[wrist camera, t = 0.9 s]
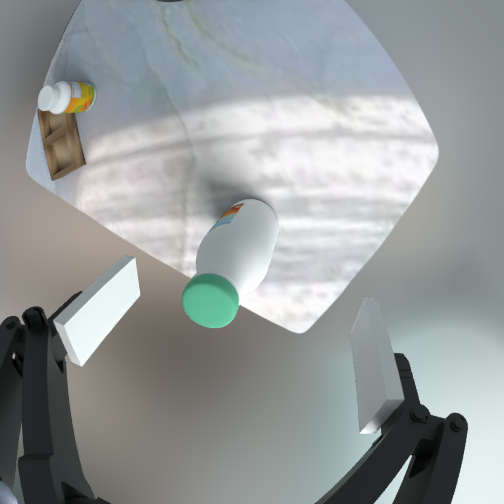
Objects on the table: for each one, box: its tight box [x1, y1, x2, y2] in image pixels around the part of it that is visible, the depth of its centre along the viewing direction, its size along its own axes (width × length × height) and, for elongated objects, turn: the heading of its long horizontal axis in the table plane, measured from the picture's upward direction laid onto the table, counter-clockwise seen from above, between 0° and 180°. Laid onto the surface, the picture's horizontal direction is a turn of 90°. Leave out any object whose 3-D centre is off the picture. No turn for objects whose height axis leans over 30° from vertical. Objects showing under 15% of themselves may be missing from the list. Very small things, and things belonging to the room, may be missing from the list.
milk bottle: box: [182, 199, 279, 328], centre depth 30 cm, size 8×8×20 cm
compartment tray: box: [37, 108, 86, 181], centre depth 37 cm, size 15×8×2 cm, turn 13°
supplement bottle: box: [38, 81, 96, 114], centre depth 30 cm, size 5×5×10 cm
